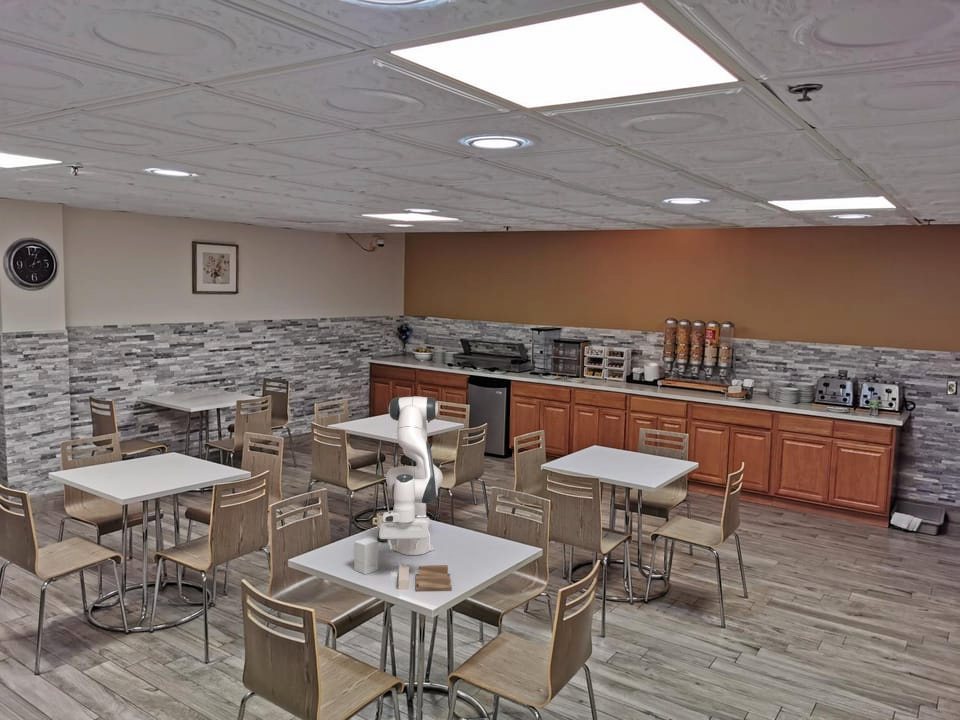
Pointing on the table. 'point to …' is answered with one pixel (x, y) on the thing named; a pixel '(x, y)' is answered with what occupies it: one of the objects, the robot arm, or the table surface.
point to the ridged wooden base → (433, 578)
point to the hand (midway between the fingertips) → (403, 549)
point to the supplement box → (366, 555)
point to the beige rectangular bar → (403, 577)
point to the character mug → (379, 519)
